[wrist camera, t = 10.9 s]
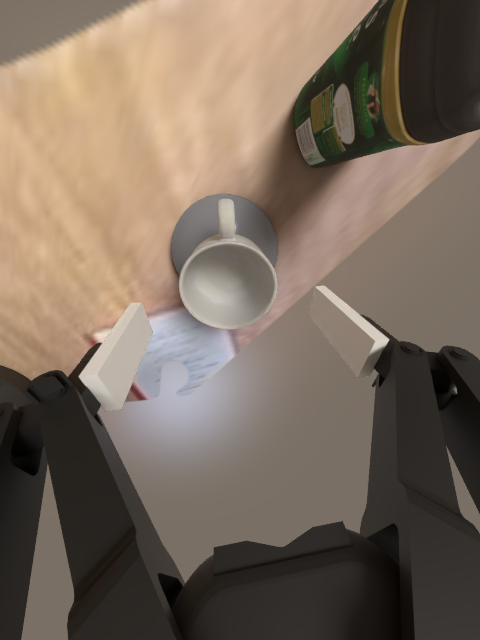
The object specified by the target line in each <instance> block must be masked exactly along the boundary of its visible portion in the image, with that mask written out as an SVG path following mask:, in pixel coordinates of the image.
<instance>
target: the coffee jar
mask: <svg viewBox="0 0 480 640" xmlns="http://www.w3.org/2000/svg"><path fill="white" fill-rule="evenodd" d="M294 124H295V132H296V137H297V141H298V145H299V148H300V151H301V153H302V156H303V158H304V160H305V161H306V162H307V163H308V164H309V165H310V166H312V167H315V168H322V167H326V166H330V165H334V164H337V163H341V162H345V161H348V160H351V159H355V158H359V157H363V156H366V155H371V154H374V153H378V152H382V151H385V150H389V149H393V148H397V147H402V146H407V145H425V144H430V143H436V142H440V141H443V140H446V139H450V138H453V137H456V136H459V135H462V134H465V133H468V132H472V131H475V130H479V129H480V0H379V1H378V2H377V3H376V4H375V5H374V7H373V8H372V9H371V10H370V11H369V13H368V14H367V15H366V16H365V17H364V18H363V20H362V21H361V22H360V23H359V24H358V25H357V26H356V28H355V29H354V30H353V31H352V32H351V33H350V35H349V36H348V37H347V38H346V39H345V40H344V42H343V43H342V44H341V45H340V46H339V47H338V48H337V50H336V51H335V52H334V53H333V54H332V55H331V56H330V57H329V58H328V60H327V61H326V62H325V63H324V64H323V65H322V66H321V67H320V69H319V70H318V71H317V72H316V73H315V74H314V75H313V76H312V77H311V79H310V80H309V81H308V82H307V83H306V84H305V86H304V87H303V88H302V90H301V92H300V94H299V96H298V99H297V101H296V105H295V111H294Z"/></svg>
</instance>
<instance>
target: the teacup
mask: <svg viewBox="0 0 480 640" xmlns="http://www.w3.org/2000/svg"><path fill="white" fill-rule="evenodd" d="M217 208H218V224H219V234H217V235H214V236H212V237H209V238H207V239H206V240H204V241H203V242H202V243H200V244H199V245H198V246H197V247H196V249H195V250H194V251H193V253H192V254H191V256H190V257H189V258H188V259H187V260H186V262H185V264H184V266H183V268H182V270H181V273H180V278H179V293H180V297H181V299H182V302H183V304H184V306H185V307H186V309H187V310H188V311H189V312H190V314H191V315H192V316H193V317H195V318H196V319H197V320H199V321H200V322H202V323H204V324H206V325H208V326H211V327H214V328H218V329H226V330H231V329H239V328H243V327H246V326H249V325H251V324H253V323H255V322H257V321H258V320H260V319H261V318H262V317H263V316H264V315H265V314H266V313H267V312H268V311H269V309H270V308H271V306H272V304H273V303H274V300H275V297H276V293H277V277H276V273H275V270H274V268H273V266H272V264H271V263H270V261H269V260H268V259H267V257H266V256H265V255H264V254H263V252H262V251H261V250H260V248H259V247H258V246H257V245H256V244H255V243H253V242H252V241H251V240H249V239H247V238H245V237H243V236H241V235H237V234H235V211H234V203H233V201H232V200H231V199H221V200H219V201H218V203H217Z"/></svg>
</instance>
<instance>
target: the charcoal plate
mask: <svg viewBox="0 0 480 640" xmlns="http://www.w3.org/2000/svg"><path fill="white" fill-rule="evenodd" d="M221 199H231V200H232V201H233V203H234V211H235V234H237V235H241V236H243V237H245V238H247V239H249V240H251V241H252V242H253V243H255V244H256V245H257V246H258V247H259V248H260V250H261V251H262V252H263V254H264V255H265V256H266V257H267V259H268V260H269V261H270V263H271V264H272V266H273V268H274V267H275V264H276V260H277V252H278V246H277V238H276V234H275V231H274V228H273V226H272V224H271V222H270V220H269V219H268V217H267V216H266V215H265V213H264V212H263V211H262V210H261V209H260V208H259V207H258V206H256V205H255V204H254V203H252V202H251V201H249V200H247V199H245V198H242V197H239V196H236V195H231V194H216V195H211V196H208V197H205V198H203V199H201V200H199V201H197V202H196V203H194V204H193V205H191V206H190V207H189V208H188V209H187V210H186V211H185V212H184V213H183V215H182V216H181V217H180V219H179V221H178V223H177V225H176V227H175V230H174V233H173V237H172V245H171V249H172V258H173V263H174V266H175V269H176V271H177V273H178V275H179V277H180V273H181V270H182V268H183V266H184V264H185V262H186V260H187V259H188V258H189V257H190V256H191V254H192V253H193V251H194V250H195V249H196V247H197V246H198V245H199V244H200V243H202V242H203V241H204V240H206V239H207V238H209V237H212V236H214V235H217V234H219V224H218V208H217V203H218V201H219V200H221Z"/></svg>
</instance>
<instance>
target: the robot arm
mask: <svg viewBox="0 0 480 640" xmlns="http://www.w3.org/2000/svg"><path fill="white" fill-rule="evenodd" d="M309 316H310V318H311V319H312V320H313V321H314V323H315V324H316V325H317V327H318V328H319V329H320V330H321V332H322V333H323V334H324V335H325V337H326V338H327V339H328V340H329V342H330V343H331V344H332V345H333V347H334V348H335V349H336V351H337V352H338V353H339V354H340V356H341V357H342V358H343V359H344V360H345V362H346V363H347V364H348V366H349V367H350V368H351V369H352V371H353V372H354V373H355V374H356V376H357V377H364V376H370V375H371V373H372V371H373V370H374V369H375V370H376V371H377V372H378V373H379V374H378V375H377V377H376V379H375V381H374V383H373V385H372V387H374V386H375V385H376V390H375V403H374V417H373V430H372V443H371V456H370V469H369V482H368V483H369V484H368V496H367V505H366V509H365V512H364V515H363V517H362V521H361V527H360V534H359V533H357V532H354V531H351V530H348V529H346V528H345V526H344V524H343V521H341V522H336V523H331V524H327V525H321V526H317V527H312V528H311V529H310V530H308V531H307V532H305V533H304V534H302V535H301V536H299V537H298V538H296V539H295V540H294V541H292V542H291V543H289V544H288V545H286V546H285V547H276V546H271V545H266V544H260V543H256V542H250V541H243V542H239V543H233V544H229V545H224V546H219V547H214V554H213V555H212V556H210V557H209V558H208V559H206V561H204V562H203V563H202V564H201V565H200V566H199V567H198V568H197V569H196V570H195V572H194V573H193V574H192V575H191V576H190V578H189V580H188V581H187V582H186V584H185V582H184V580H183V579H182V576H181V574H180V572H179V570H178V568H177V566H176V565H175V563H174V561H173V559H172V558H171V556H170V555H169V553H168V552H167V551H166V549H165V547H164V546H163V544H162V542H161V540H160V538H159V536H158V534H157V532H156V530H155V528H154V526H153V524H152V522H151V520H150V517H149V515H148V514H147V512H146V509H145V507H144V505H143V504H142V501H141V499H140V497H139V495H138V493H137V491H136V489H135V487H134V485H133V483H132V481H131V479H130V477H129V475H128V473H127V471H126V469H125V467H124V465H123V462H122V460H121V458H120V457H119V454H118V452H117V450H116V448H115V446H114V444H113V442H112V440H111V438H110V436H109V434H108V432H107V430H106V428H105V426H104V424H103V422H102V420H101V418H100V416H99V415H98V414H97V412H98V410H99V408H100V406H102V407H103V409H104V410H105V411H106V412H108V411H116V410H121V409H122V407H123V404H124V402H125V399H126V397H127V395H128V392H129V390H130V387H131V385H132V382H133V380H134V377H135V375H136V373H137V370H138V368H139V365H140V363H141V360H142V358H143V355H144V353H145V350H146V348H147V346H148V343H149V341H150V338H151V336H152V333H153V331H152V328H151V326H150V323H149V320H148V318H147V315H146V312H145V310H144V307H143V304H142V302H139V303H131V304H130V305H129V306H128V308H127V309H126V311H125V312H124V313H123V315H122V316H121V318H120V319H119V320H118V322H117V323H116V325H115V326H114V327H113V329H112V330H111V332H110V333H109V334H108V336H107V337H106V339H105V340H104V342H103V343H97V344H96V345H95V346H93V347H92V348H91V349H89V351H88V352H87V353H86V355H85V356H84V358H82V360H81V361H80V363H79V364H78V365H77V366H76V368H75V369H74V370H73V372H72V373H71V374H70V375H69V377H67V376H66V375H65V374H64V373H63V372H62V371H59V370H55V371H49V372H47V373H44V374H42V375H40V376H38V377H36V378H35V379H33V380H32V381H29V380H28V379H27V378H25V377H24V376H22V375H20V374H19V373H17V372H15V371H13V370H10V369H8V368H5V367H2V366H0V640H21V637H22V630H23V623H24V617H25V610H26V603H27V597H28V590H29V584H30V576H31V569H32V564H33V557H34V550H35V544H36V537H37V530H38V523H39V517H40V510H41V504H42V498H43V491H44V483H45V478H46V471H47V465H49V470H50V475H51V480H52V485H53V490H54V495H55V499H56V504H57V509H58V514H59V519H60V524H61V529H62V533H63V539H64V543H65V548H66V553H67V558H68V563H69V568H70V573H71V578H72V582H73V587H74V603H73V605H72V607H71V609H70V612H69V615H68V623H67V629H68V640H480V534H479V532H478V530H477V529H476V528H475V526H474V525H473V524H472V523H470V522H469V521H468V520H466V519H465V518H464V517H463V516H462V514H461V513H460V509H459V506H458V501H457V496H456V491H455V486H454V482H453V477H452V472H451V467H450V463H449V458H448V453H447V448H448V449H449V452H450V454H451V456H452V458H453V460H454V462H455V464H456V466H457V468H458V470H459V472H460V474H461V476H462V478H463V480H464V483H465V484H466V486H467V489H468V491H469V493H470V495H471V497H472V499H473V501H474V503H475V505H476V507H477V509H478V511H479V513H480V360H479V359H478V358H477V357H476V356H474V355H473V354H472V353H470V352H468V351H467V350H465V349H462V348H459V347H454V346H444V347H442V349H441V350H440V351H439V353H435V352H426V351H424V350H423V349H422V348H421V347H419V346H417V345H415V344H413V343H410V342H404V341H401V342H399V341H398V340H397V339H395V338H394V337H393V336H392V335H390V334H389V333H388V332H386V331H385V330H384V329H383V328H381V327H380V326H379V325H378V324H376V323H375V322H374V321H373V320H371V319H370V318H368V317H366V316H364V315H359V314H358V313H357V312H356V311H354V310H353V309H352V308H351V307H349V306H348V305H347V304H346V303H345V302H343V301H342V300H341V299H340V298H339V297H337V296H336V295H335V294H334V293H333V292H331V291H330V290H329V289H328V288H326V287H325V286H315V289H314V294H313V299H312V304H311V309H310V314H309ZM455 387H456V388H457V394H456V393H455V391H454V390H453V389H454V388H455ZM446 446H447V448H446Z"/></svg>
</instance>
